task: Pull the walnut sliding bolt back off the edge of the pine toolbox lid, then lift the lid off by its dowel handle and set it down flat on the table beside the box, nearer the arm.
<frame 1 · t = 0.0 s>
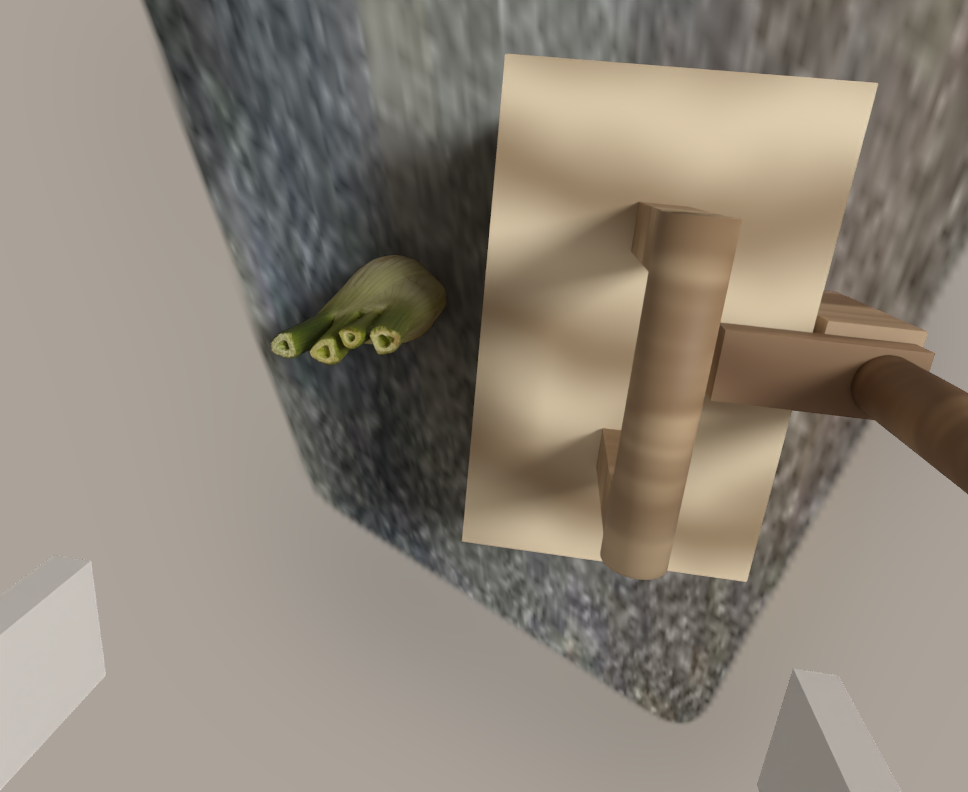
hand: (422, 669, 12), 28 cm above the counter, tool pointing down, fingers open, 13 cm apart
lid: (635, 338, 30), point 8 cm above the counter, touching toolbox
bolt: (865, 414, 22), point 16 cm above the counter, slide at 0.0 cm
toolbox: (621, 305, 37), on the counter
fennel bulb: (403, 292, 39), on the counter
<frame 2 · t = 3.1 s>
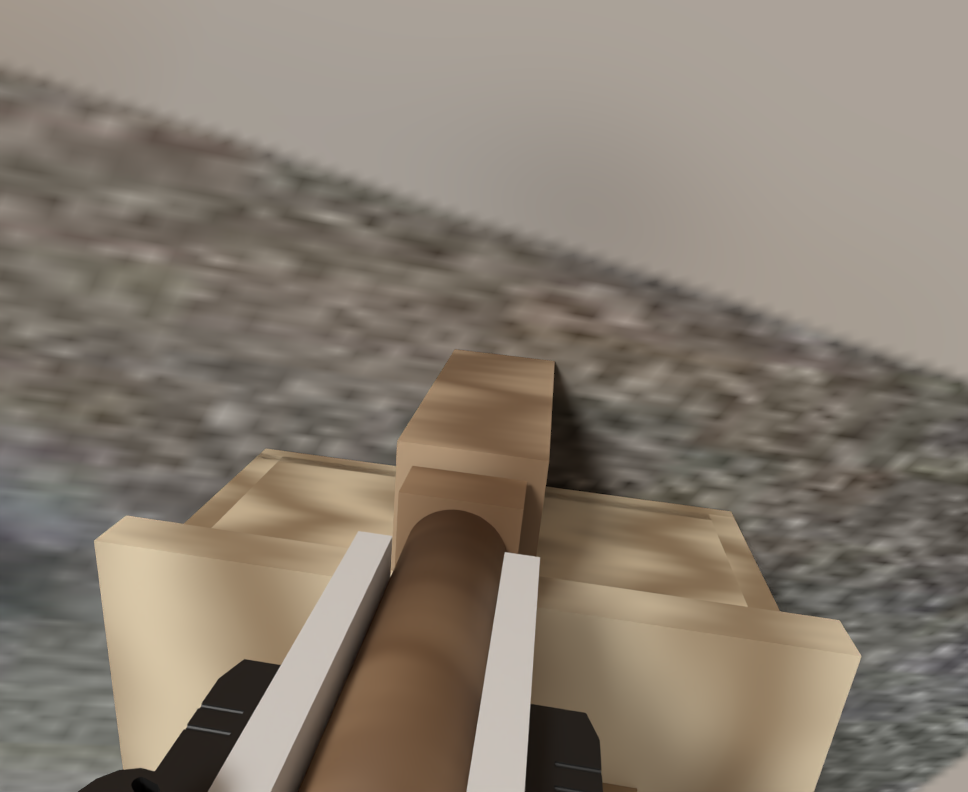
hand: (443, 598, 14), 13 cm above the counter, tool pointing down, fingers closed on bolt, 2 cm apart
lid: (450, 740, 22), point 8 cm above the counter, touching toolbox
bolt: (411, 784, 13), point 16 cm above the counter, slide at 0.0 cm, touching gripper
toolbox: (479, 596, 30), on the counter
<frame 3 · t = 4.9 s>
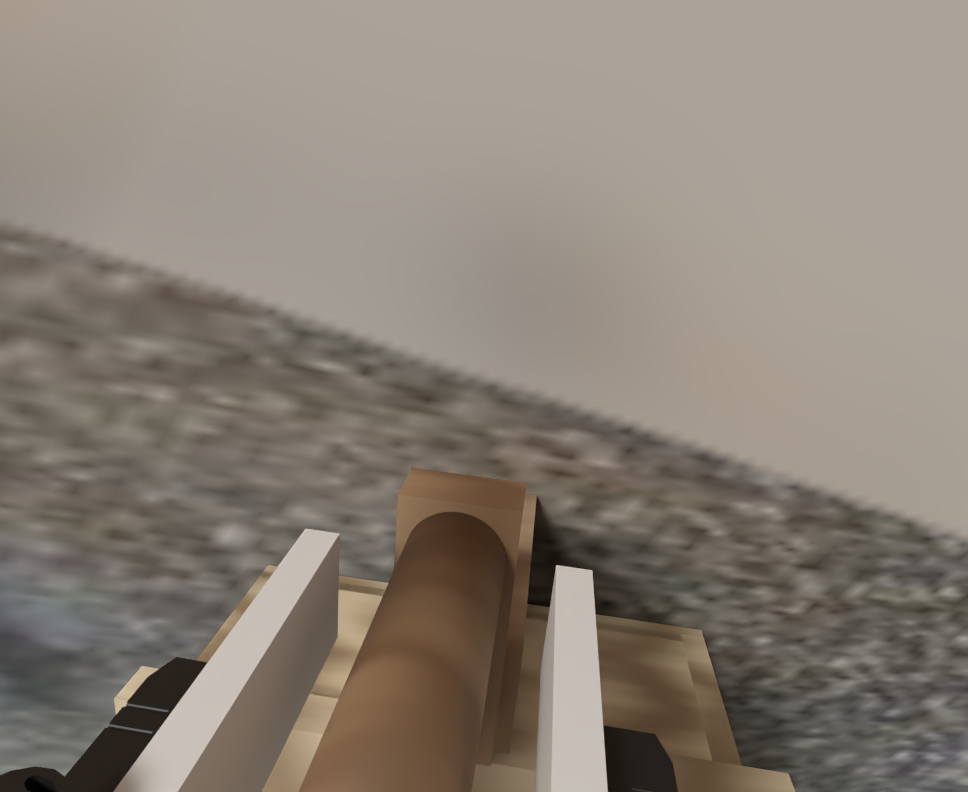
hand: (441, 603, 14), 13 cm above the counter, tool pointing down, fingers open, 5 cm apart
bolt: (411, 786, 13), point 16 cm above the counter, slide at 5.9 cm
toolbox: (468, 699, 32), on the counter
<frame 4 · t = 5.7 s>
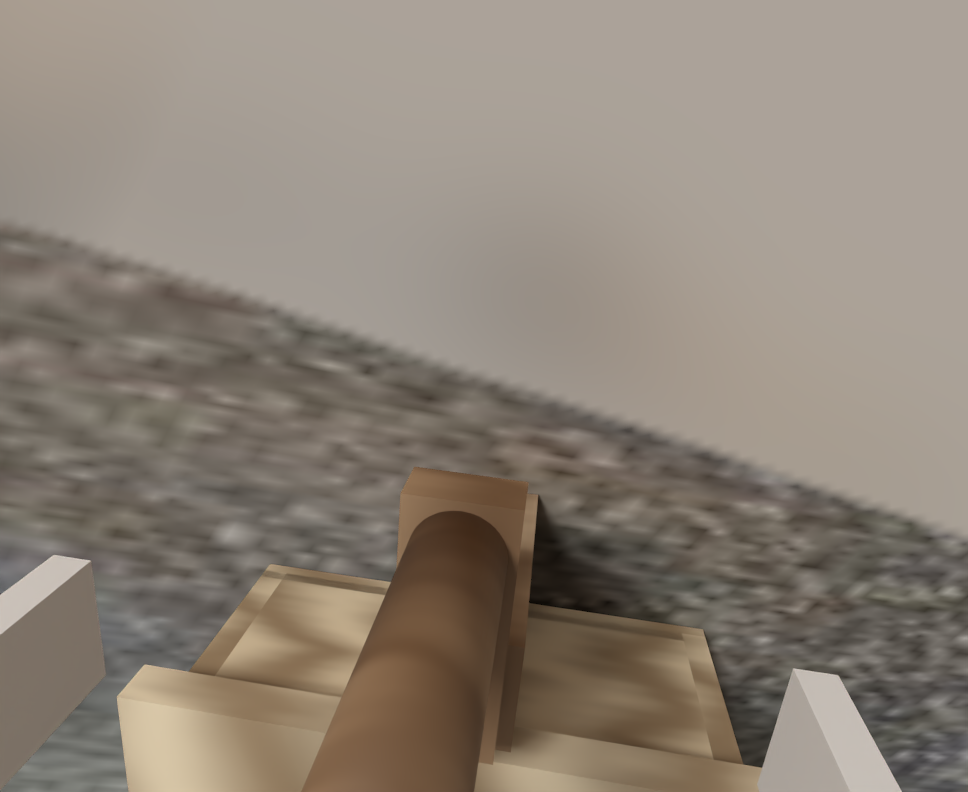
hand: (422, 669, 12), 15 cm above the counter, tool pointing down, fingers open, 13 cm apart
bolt: (413, 784, 13), point 16 cm above the counter, slide at 5.9 cm
toolbox: (469, 698, 32), on the counter
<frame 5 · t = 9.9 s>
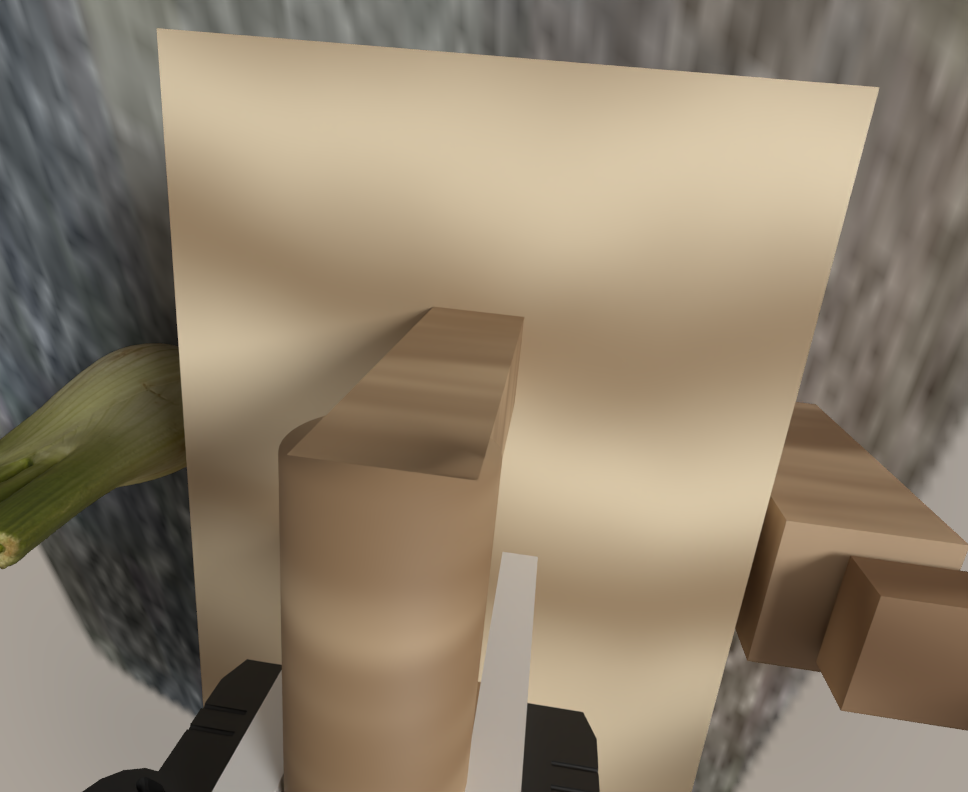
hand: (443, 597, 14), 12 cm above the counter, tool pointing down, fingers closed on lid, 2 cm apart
lid: (466, 518, 18), point 8 cm above the counter, touching gripper
toolbox: (495, 415, 25), on the counter
fennel bulb: (185, 389, 27), on the counter
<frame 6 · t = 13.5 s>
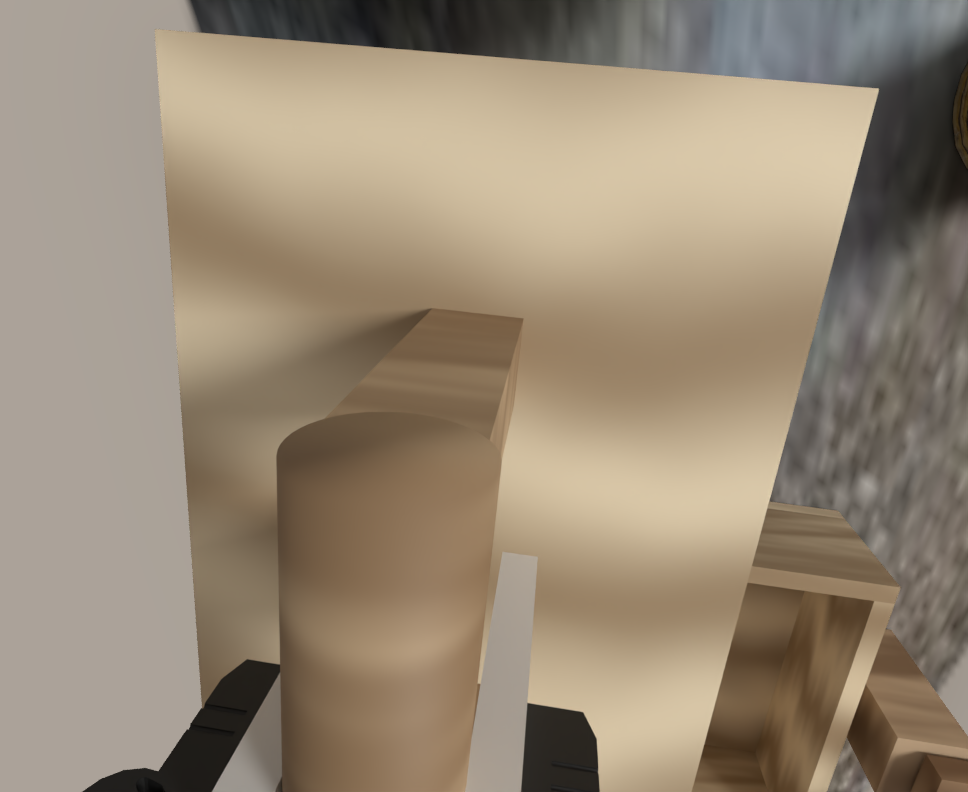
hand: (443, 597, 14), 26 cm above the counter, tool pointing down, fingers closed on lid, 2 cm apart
lid: (465, 520, 18), point 23 cm above the counter, touching gripper
toolbox: (706, 627, 44), on the counter
when the fingers open (6 cm above the counter, at t = 17.5 s): lid drops 2 cm, point 1 cm above the counter.
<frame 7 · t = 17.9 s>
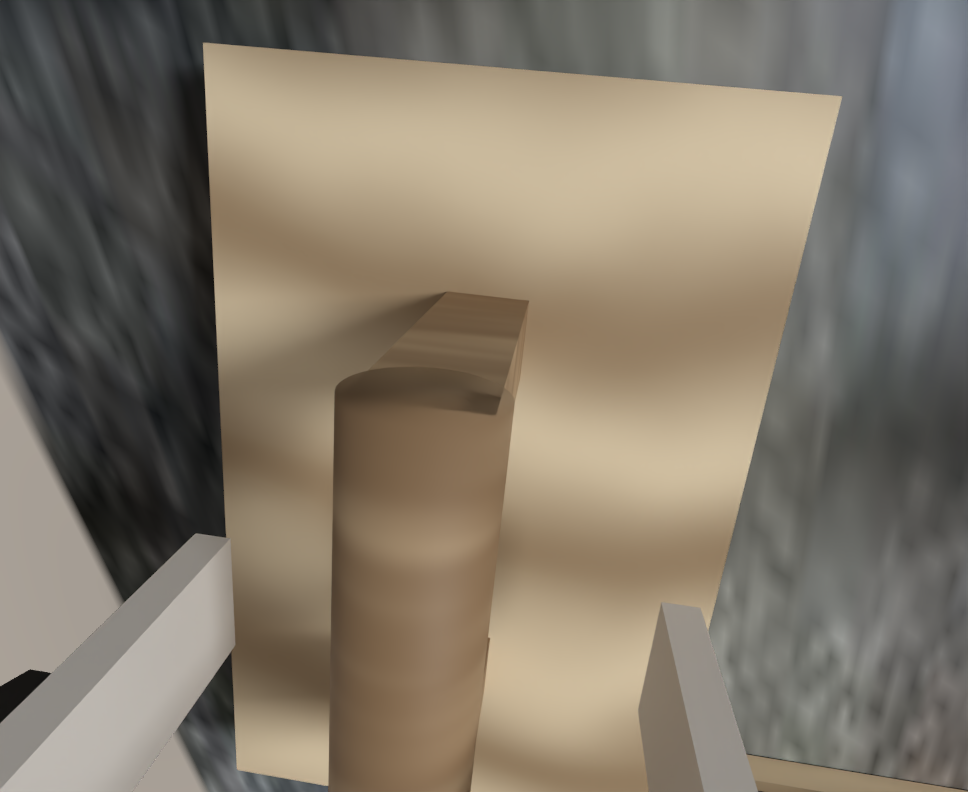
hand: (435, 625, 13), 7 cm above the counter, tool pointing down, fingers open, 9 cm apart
lid: (474, 488, 19), point 1 cm above the counter
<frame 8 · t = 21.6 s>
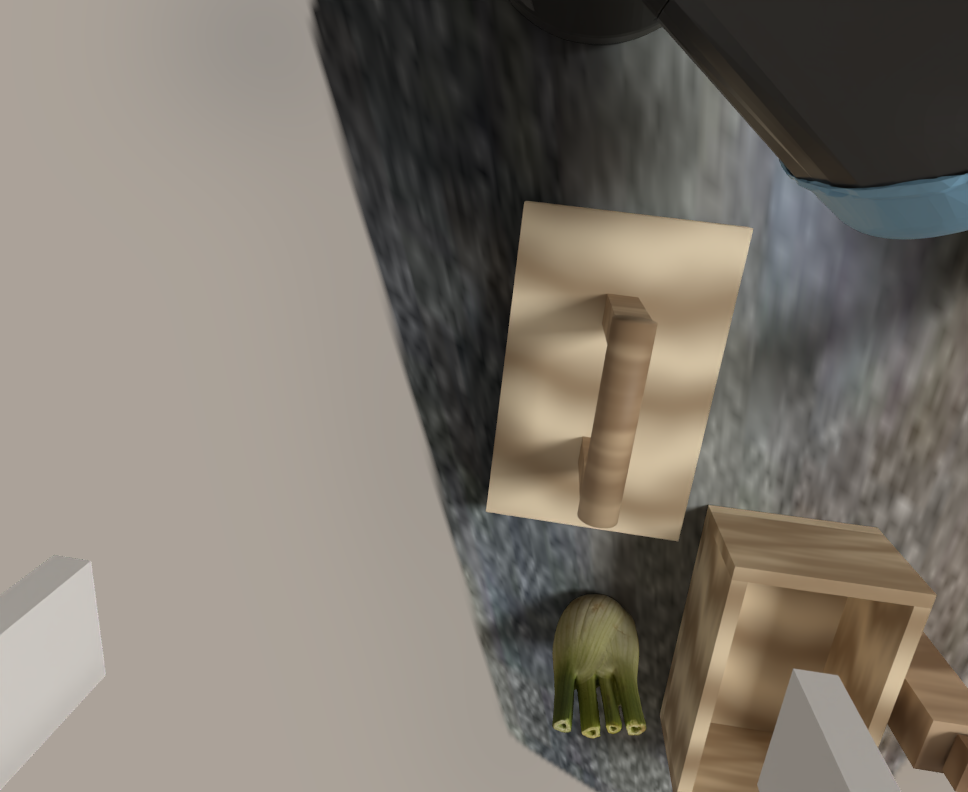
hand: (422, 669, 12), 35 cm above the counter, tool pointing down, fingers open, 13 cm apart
lid: (605, 377, 45), point 1 cm above the counter
toolbox: (760, 628, 51), on the counter
fennel bulb: (594, 608, 52), on the counter
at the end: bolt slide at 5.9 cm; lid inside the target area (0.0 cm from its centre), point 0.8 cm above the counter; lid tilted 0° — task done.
